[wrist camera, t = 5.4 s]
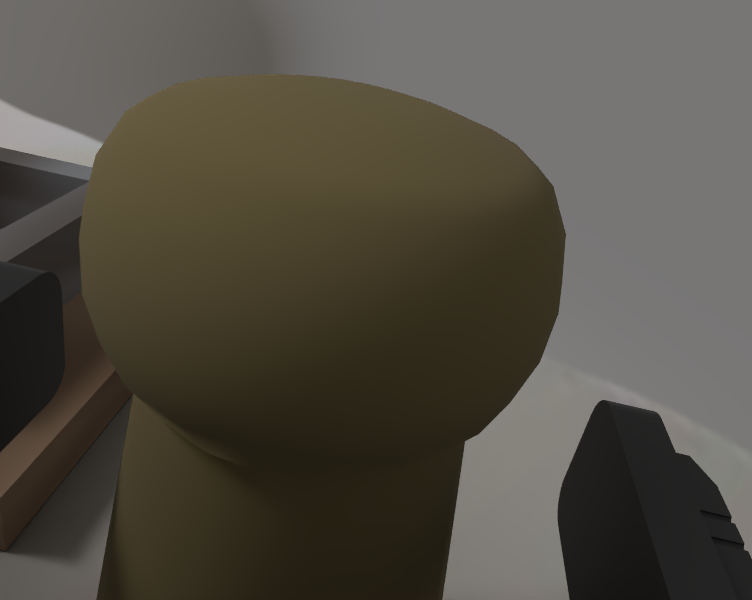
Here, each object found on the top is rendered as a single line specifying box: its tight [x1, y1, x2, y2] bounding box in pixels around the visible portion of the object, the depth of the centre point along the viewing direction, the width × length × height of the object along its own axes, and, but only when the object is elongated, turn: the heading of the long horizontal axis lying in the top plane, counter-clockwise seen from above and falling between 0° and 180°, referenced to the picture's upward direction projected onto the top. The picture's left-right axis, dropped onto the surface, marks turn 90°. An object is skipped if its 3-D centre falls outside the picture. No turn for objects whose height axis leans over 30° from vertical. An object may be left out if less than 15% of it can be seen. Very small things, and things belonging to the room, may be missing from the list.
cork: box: [79, 74, 566, 600], centre depth 9 cm, size 6×6×11 cm
